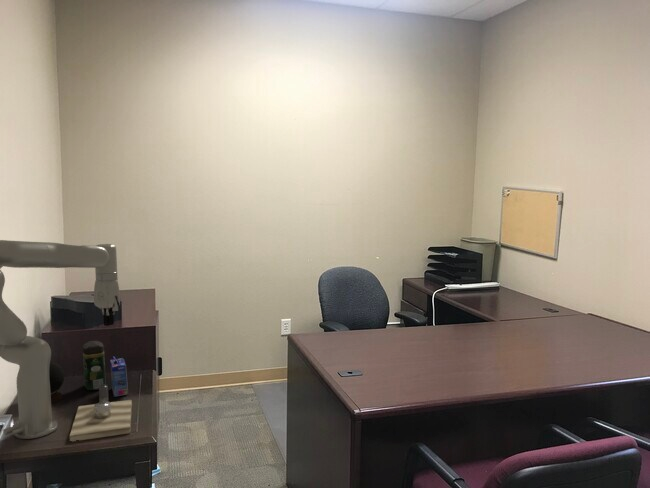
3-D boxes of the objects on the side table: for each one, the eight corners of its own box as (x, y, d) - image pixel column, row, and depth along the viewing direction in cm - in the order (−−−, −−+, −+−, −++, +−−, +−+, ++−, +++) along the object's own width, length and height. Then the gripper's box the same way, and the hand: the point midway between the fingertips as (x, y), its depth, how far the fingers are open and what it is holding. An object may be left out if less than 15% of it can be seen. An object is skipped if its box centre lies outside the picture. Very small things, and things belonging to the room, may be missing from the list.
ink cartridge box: (110, 388, 209) (109, 353, 207) (125, 386, 211) (124, 351, 210) (113, 397, 200) (111, 361, 198) (128, 394, 202) (126, 358, 201)
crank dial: (110, 417, 177) (109, 397, 176) (94, 419, 175) (93, 399, 174) (111, 402, 189) (110, 383, 188) (96, 404, 187) (95, 385, 186)
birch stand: (130, 433, 170) (130, 426, 170) (69, 441, 164) (69, 435, 164) (131, 404, 193) (131, 399, 192) (78, 411, 187) (78, 405, 187)
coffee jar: (83, 384, 213) (81, 340, 211) (104, 381, 217) (102, 338, 215) (85, 392, 205) (83, 347, 203) (107, 388, 208) (104, 344, 207)
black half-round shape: (22, 399, 198) (20, 361, 197) (60, 390, 207) (57, 354, 206) (31, 409, 189) (28, 370, 187) (69, 400, 197) (67, 362, 196)
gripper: (85, 276, 194) (88, 324, 196) (110, 280, 186) (112, 330, 188) (103, 274, 201) (105, 320, 202) (127, 277, 193) (130, 325, 194)
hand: (108, 324), depth 195 cm, fingers closed
